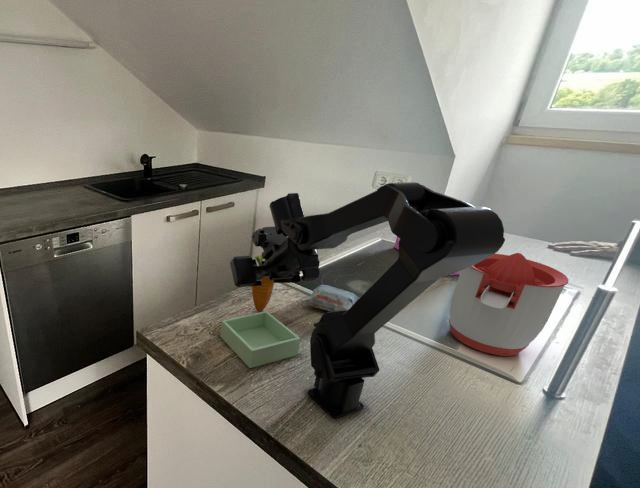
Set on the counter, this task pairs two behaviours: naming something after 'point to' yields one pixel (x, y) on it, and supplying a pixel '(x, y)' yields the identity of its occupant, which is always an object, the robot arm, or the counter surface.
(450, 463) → the counter surface
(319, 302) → the packaged food
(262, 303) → the carrot
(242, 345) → the mint green tray
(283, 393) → the counter surface
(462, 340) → the citrus juicer
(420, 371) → the counter surface
